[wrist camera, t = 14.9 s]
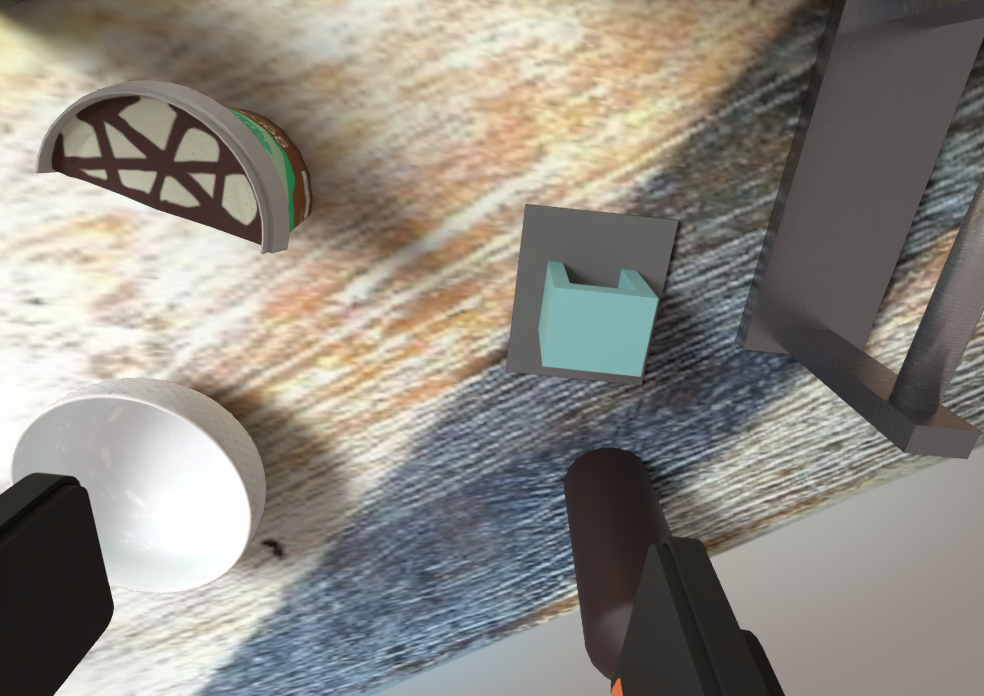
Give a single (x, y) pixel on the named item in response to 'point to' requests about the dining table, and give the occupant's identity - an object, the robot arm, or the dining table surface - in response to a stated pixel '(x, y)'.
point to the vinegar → (610, 546)
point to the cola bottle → (8, 2)
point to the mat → (582, 271)
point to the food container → (184, 158)
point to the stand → (874, 217)
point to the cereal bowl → (153, 478)
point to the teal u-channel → (596, 323)
